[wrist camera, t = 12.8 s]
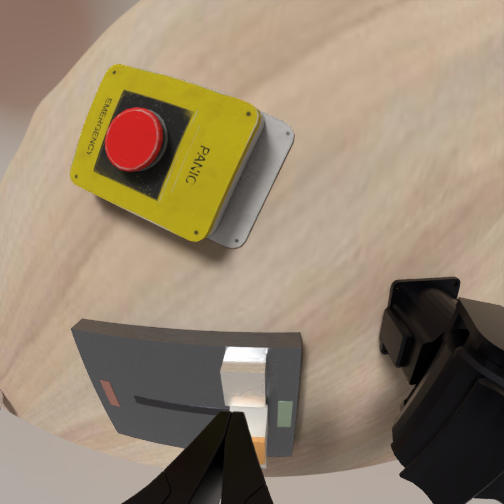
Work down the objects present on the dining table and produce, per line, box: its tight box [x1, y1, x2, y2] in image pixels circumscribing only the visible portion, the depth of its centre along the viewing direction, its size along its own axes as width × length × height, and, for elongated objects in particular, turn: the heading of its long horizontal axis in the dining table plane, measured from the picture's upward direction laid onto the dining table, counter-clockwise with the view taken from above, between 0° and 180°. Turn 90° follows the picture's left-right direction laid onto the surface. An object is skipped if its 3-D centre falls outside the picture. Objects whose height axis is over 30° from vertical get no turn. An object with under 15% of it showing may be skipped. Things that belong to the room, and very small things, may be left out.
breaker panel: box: [71, 319, 302, 468], centre depth 22 cm, size 20×15×4 cm
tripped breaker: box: [229, 405, 268, 465], centre depth 19 cm, size 3×4×4 cm
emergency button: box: [70, 64, 294, 248], centre depth 16 cm, size 9×4×15 cm
